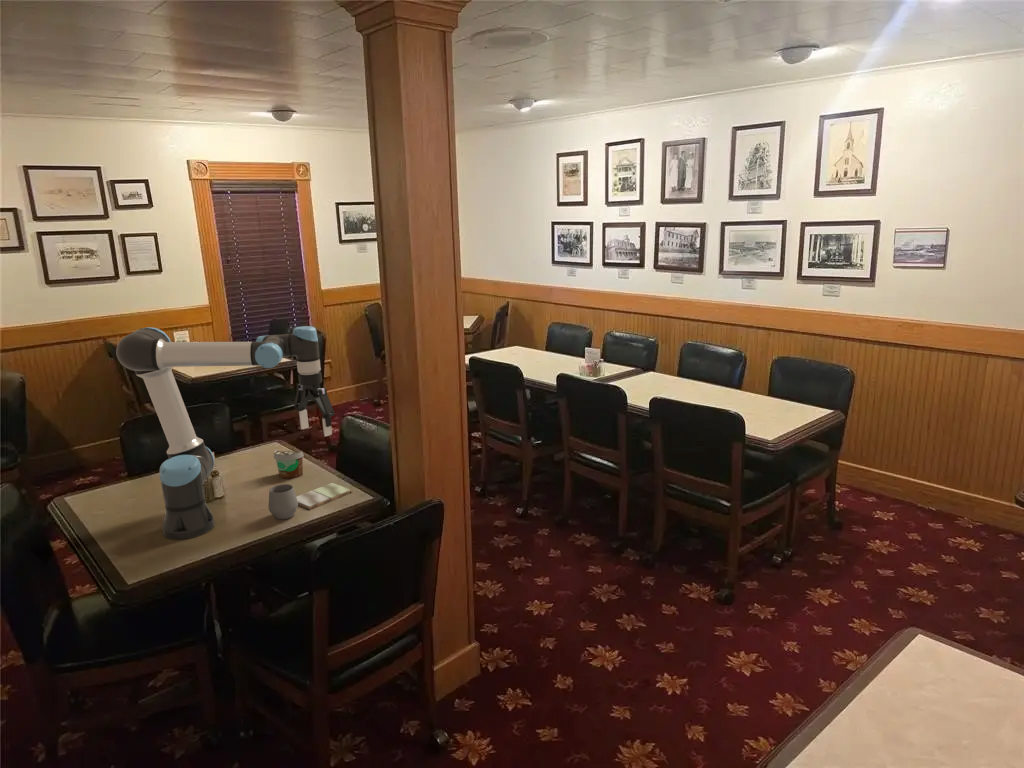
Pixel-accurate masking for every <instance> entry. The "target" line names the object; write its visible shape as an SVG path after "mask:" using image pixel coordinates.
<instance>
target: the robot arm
mask: <svg viewBox="0 0 1024 768" xmlns="http://www.w3.org/2000/svg"><path fill="white" fill-rule="evenodd" d="M319 349H320V347H319V339H318V332H317V329H316V327H314V326H312V325H311V326H310V325H309V326H308V325H306V326H305V325H303V326H297V327H294V328H293V330H292V333H286V334H271V335H269V334H266V335H260V336H259V335H258V336H257V337H256V338H255V341H171V338H170V337H169V336H168V335H167V333H165V332H164V331H163V330H162V329H160V328H156V327H144V328H139V329H137V330H135V331H132V332H130V334H127V335H125V336H124V337H122V338H121V339H119V341H118V343H117V345H116V350H115V352H116V353H115V354H116V358H117V360H118V362H119V364H121V366H123V367H125V368H126V369H128V370H129V371H134V373H135V375H136V376H137V377H139V378H141V379H142V380H143V382H144V384H145V387H146V390H147V392H148V395H149V397H150V399H151V402H152V405H153V408H154V410H155V412H156V415H157V417H158V420H159V423H160V424H161V428H162V430H163V433H164V435H165V438H166V441H167V443H168V448H167V450H166V454H167V457H168V459H166V460H164V461H163V462H162V463H161V465H160V467H159V479H160V485H161V491H162V495H163V501H164V507H165V514H164V519H163V522H162V534H163V536H164V537H165V538H166V539H169V540H185V539H192V538H194V537H198V536H201V535H203V534H206V533H207V532H209V531H211V530H212V529H213V528H214V527H215V525H216V522H215V517H214V515H213V513H212V511H211V510H210V508H209V506H208V505H207V501H206V496H205V489H204V483H205V481H207V479H208V477H209V476H210V475H211V473H212V472H213V469H214V466H215V465H214V464H215V457H214V454H213V452H212V450H211V449H210V448H209V447H208V446H206V444H205V442H204V439H202V438H200V437H198V436H197V434H196V431H195V428H194V426H193V424H192V422H191V419H190V417H189V413H188V411H187V408H186V405H185V403H184V400H183V398H182V394H181V392H180V389H179V387H178V384H177V381H176V379H175V376H174V372H173V371H172V370H173V368H174V367H175V368H181V367H185V368H187V367H233V366H234V367H240V366H241V367H246V366H247V367H248V366H249V367H250V366H251V367H252V366H253V367H254V366H255V367H259V366H260V367H263V368H264V369H272V368H274V367H277V366H278V365H279V364H280V363H281V362H282V360H283V358H287V357H288V358H290V357H295V358H296V366H297V369H296V370H297V373H298V375H297V377H298V382H299V383H297V384H296V394H295V399H294V404H293V408H294V409H297V411H298V418H299V423H300V424H299V425H300V430H306V429H309V426H310V425H309V418H308V410H307V406H308V403H309V401H311V400H312V401H313V402H314V403H315V405H316V407H318V410H319V411H320V413H321V415H322V417H321V418H322V419H321V420H322V430H323V436H324V437H329V436H331V435H333V430H332V417H334V416H335V415H336V413H335V411H334V408H333V405H332V402H331V400H330V398H329V395H328V392H327V391H328V390H327V388H326V387H322V388H321V383H322V382H323V376H322V371H321V370H322V368H321V367H322V366H321V359H320V350H319Z"/></svg>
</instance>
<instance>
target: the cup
mask: <svg viewBox="0 0 1024 768" xmlns="http://www.w3.org/2000/svg"><path fill="white" fill-rule="evenodd" d="M268 492H269V493H268V505H267V507H268V511H269V512H270V514H271V515H272V516H273V517H274V518H275V519H277V520H287V519H290V518H292V517H293V516H295V514H296V512H297V511H296V510H297V509H298V506H299V505H298V501H297V498H296V497H297V495H296V492H295V489H294V486H293V485H292V484H288V483H282V484H277V485H274V486H272V487H270V489H269V491H268Z"/></svg>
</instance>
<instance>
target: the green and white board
mask: <svg viewBox="0 0 1024 768" xmlns="http://www.w3.org/2000/svg"><path fill="white" fill-rule="evenodd" d="M350 492H352V493H353V490H351V488H348V487H344V486H342V485H339V484H336V483H334V482H331V483H328V484H326V485H322V486H320V487H318V488H314V489H312V490H310V491H308V492H305V493H301V494H299V495H296V498H297V501H298V506H300V507H302V508H303V509H308V510H314V509H315V508H319V507H321V506H323V505H327V504H328V503H330V502H333V501H335V499H336V500H337V498H338V499H340V498H342V496H343V497H345V496H347V495H346V494H348V493H350ZM350 494H351V493H350ZM344 495H345V496H344ZM348 495H349V494H348ZM339 497H340V498H339Z"/></svg>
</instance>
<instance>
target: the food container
mask: <svg viewBox="0 0 1024 768" xmlns="http://www.w3.org/2000/svg"><path fill="white" fill-rule="evenodd" d="M304 456H305V455H304V453H303V451H299V452H294V451H279V449H278V448H277V449H276V448H275V450H274V452H273V459H275V462H276V466H277V470H278V476H279V478H280V479H283V480H284V479H286V480H291V479H297V478H299V477H302V476H303V475H304V474H303V468H304V467H303V465H304V464H303V463H304V462H303V458H304Z"/></svg>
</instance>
